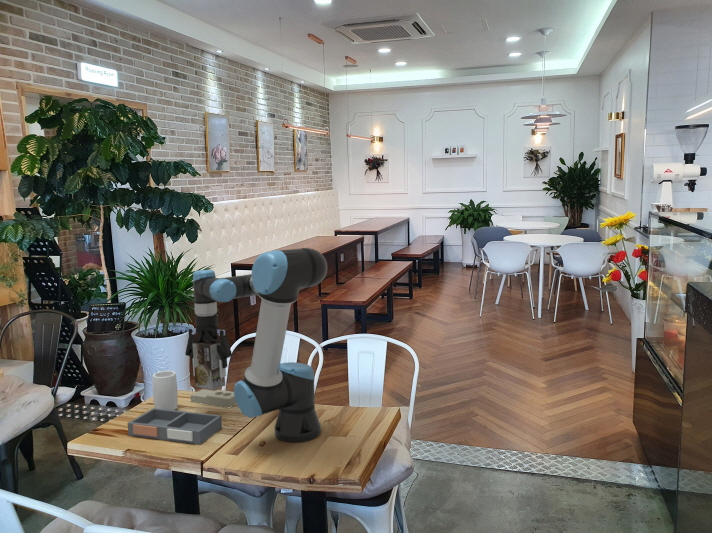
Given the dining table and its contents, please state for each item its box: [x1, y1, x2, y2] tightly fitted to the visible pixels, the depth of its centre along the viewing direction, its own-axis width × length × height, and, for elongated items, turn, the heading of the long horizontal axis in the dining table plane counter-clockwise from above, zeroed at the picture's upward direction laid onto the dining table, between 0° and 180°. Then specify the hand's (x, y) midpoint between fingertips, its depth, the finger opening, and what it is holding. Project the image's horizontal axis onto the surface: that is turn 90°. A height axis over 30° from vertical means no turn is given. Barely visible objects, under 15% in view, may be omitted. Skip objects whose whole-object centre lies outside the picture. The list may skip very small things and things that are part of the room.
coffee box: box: [193, 340, 226, 391], centre depth 199 cm, size 9×6×16 cm
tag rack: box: [127, 407, 223, 445], centre depth 188 cm, size 27×14×4 cm, turn 73°
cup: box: [152, 370, 179, 410], centre depth 205 cm, size 8×8×14 cm
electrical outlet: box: [190, 388, 237, 408], centre depth 215 cm, size 7×4×18 cm
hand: (209, 375), depth 200 cm, fingers closed on coffee box, 10 cm apart
